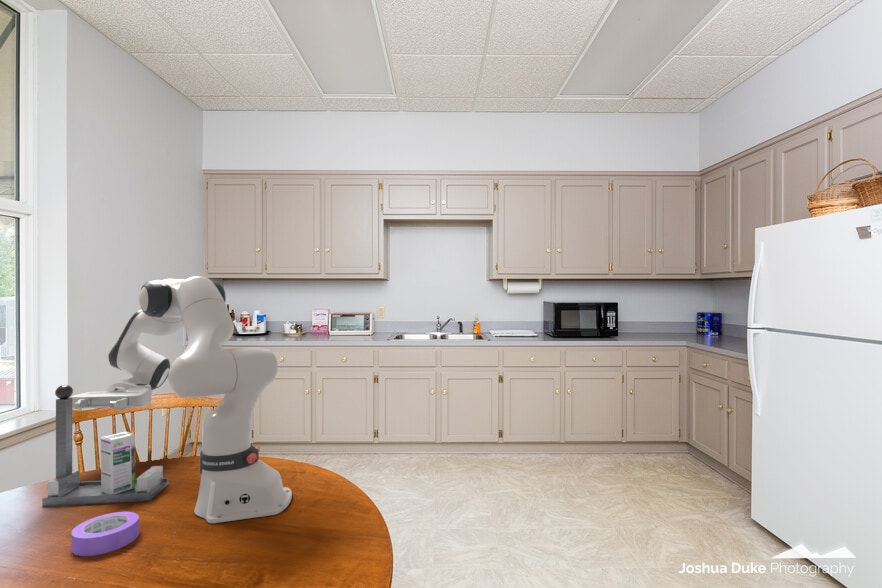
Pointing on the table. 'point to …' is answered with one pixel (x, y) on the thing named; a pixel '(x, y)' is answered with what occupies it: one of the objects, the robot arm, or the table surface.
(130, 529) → the masking tape
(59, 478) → the ball-topped square post
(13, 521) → the table surface
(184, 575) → the table surface
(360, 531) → the table surface
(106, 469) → the syrup box
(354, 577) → the table surface
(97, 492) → the tray
